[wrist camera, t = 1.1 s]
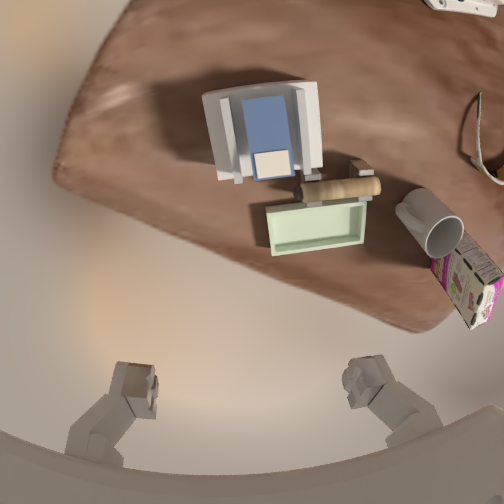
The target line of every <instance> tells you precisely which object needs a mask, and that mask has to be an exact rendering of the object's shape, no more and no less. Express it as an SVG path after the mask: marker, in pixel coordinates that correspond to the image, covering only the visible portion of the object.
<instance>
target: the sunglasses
mask: <svg viewBox="0 0 504 504" xmlns="http://www.w3.org/2000/svg"><path fill="white" fill-rule="evenodd" d="M480 105H481V92H480V93H479V96H478V104H477V119H476V156H477V160H475V159H474V158H473V157H471V161H472V163H473V164H474V165H475V166H476V167H477V169H478V170H479V171H480V172H481V173H483V174H484V175H485V176H486V177H488V178H489V179H491V180H493V181H495V182H496V183H498V184H501V185H504V165H503V166H502V168H500V169H499V170H497V171H496V169H495V170H494V171H493V173H492V172H491V171H490V170H488V169H486V168H485V167H484V165H483V164H482V158H481V151H480V142H479V122H480Z"/></svg>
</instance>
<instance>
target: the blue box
mask: <svg viewBox="0 0 504 504" xmlns="http://www.w3.org/2000/svg"><path fill="white" fill-rule="evenodd" d="M242 106H243V113H244V119H245V125H246V132H247V138H248V145H249V151H250V158H251V164H252V171H253V178H254V181H259V180H266V179H273V178H281V177H289V176H295V170H294V162H293V154H292V147H291V139H290V132H289V125H288V119H287V112H286V106H285V99H284V95H281V96H272V97H263V98H255V99H248V100H242Z"/></svg>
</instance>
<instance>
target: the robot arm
mask: <svg viewBox="0 0 504 504" xmlns="http://www.w3.org/2000/svg"><path fill="white" fill-rule="evenodd" d="M424 1H425V2H426V3H427V5H428V6H429V7H430V8H432V9H434V10H444V11H453V12H461V13H468V14H475V15H480V16H486V17H495V15H496V12H497V5H502V4H504V0H424ZM439 1H440V3H441V4H440V3H439ZM348 366H349V367H348V368H347V369H345V370H344V373H343V375H342V383H343V387H344V389H345V390H346V391H347V392H348V393H349V394H348V396H347V398H348V401H349V404H350V407H351V409H356V408H361V407H366V406H368V408H369V409H370V410H371V411H372V412H373V413H374V414H375V415H376V416H377V417H378V418H380V420H382V421H383V422H384V423H385V424H386V425H387V426H388V427H389V428H390V429H391V430H392V431H393V432H392V433H391V434H390V435H389V436H388V437H387V438H386V443H387V446H388V449H384V450H381V451H378V452H374V453H371V454H368V455H364V456H360V457H356V458H352V459H348V460H345V461H340V462H335V463H331V464H326V465H320V466H315V467H309V468H303V469H297V470H289V471H281V472H272V473H262V474H248V475H183V474H169V473H159V472H150V471H141V470H135V469H128V468H123V459H124V458H123V457H122V455H121V454H120V453H119V452H118V451H117V450H116V449H115V448H114V446H115V445H116V444H117V442H118V441H119V440H120V438H121V437H122V436H123V435H124V434H125V432H126V431H127V430H128V428H129V427H130V426H131V425H132V424H133V422H134V421H135V420H136V418H143V419H156V410H157V405H156V402H155V399H156V398H157V397H158V378H157V376H156V375H155V368H154V365H147V364H137V363H128V362H119V361H118V362H117V363H116V366H115V369H114V373H113V377H112V381H111V385H110V390H109V394H105V395H104V396H103V397H101V398H100V399H99V400H98V401H97V402H96V403H95V404H94V405H93V406H92V407H91V408H90V409H89V410H88V411H87V412H86V413H85V414H83V415H82V416H81V417H80V418H79V419H78V420H77V421H76V422H75V423H74V424H73V425H72V426H71V427H70V430H69V435H68V439H67V444H66V449H65V454H63V453H59V452H56V451H53V450H50V449H47V448H44V447H41V446H38V445H36V444H32V443H30V442H28V441H25V440H22V439H20V438H18V437H15V436H13V435H10V434H8V433H6V432H4V431H1V430H0V504H504V410H503V409H501V408H499V407H498V406H496V405H494V404H488V405H486V406H484V407H482V408H480V409H478V410H477V411H475V412H473V413H471V414H469V415H467V416H465V417H463V418H461V419H459V420H457V421H455V422H453V423H451V424H449V425H447V426H444V427H443V424H442V423H441V420H440V418H439V416H438V414H437V412H436V410H435V408H434V406H433V405H432V404H430V403H429V402H427V401H426V400H425V399H423V398H422V397H420V396H419V395H417V394H416V393H414V392H413V391H412V390H410V389H409V388H407V387H406V386H405V385H403V384H402V383H400V382H396V380H395V378H394V376H393V374H392V372H391V370H390V368H389V366H388V364H387V362H386V360H385V358H384V356H383V355H374V356H366V357H360V358H354V359H351V360H350V361H349V363H348Z"/></svg>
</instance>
